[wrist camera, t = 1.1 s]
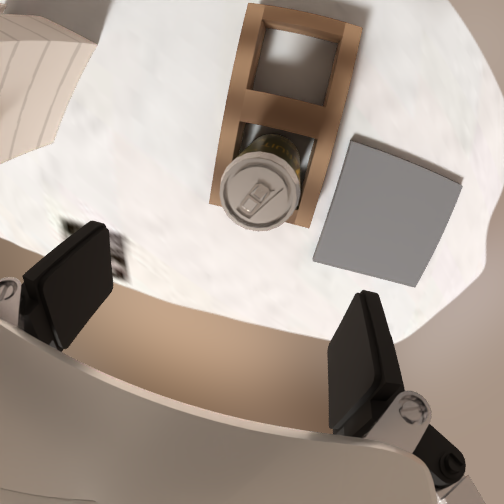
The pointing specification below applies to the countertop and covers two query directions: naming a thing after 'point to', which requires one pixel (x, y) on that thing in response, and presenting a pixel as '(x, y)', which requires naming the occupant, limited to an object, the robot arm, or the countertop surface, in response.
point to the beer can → (262, 184)
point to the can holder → (283, 108)
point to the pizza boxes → (36, 79)
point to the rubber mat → (385, 216)
